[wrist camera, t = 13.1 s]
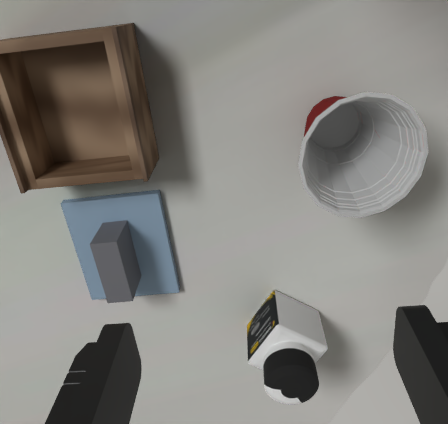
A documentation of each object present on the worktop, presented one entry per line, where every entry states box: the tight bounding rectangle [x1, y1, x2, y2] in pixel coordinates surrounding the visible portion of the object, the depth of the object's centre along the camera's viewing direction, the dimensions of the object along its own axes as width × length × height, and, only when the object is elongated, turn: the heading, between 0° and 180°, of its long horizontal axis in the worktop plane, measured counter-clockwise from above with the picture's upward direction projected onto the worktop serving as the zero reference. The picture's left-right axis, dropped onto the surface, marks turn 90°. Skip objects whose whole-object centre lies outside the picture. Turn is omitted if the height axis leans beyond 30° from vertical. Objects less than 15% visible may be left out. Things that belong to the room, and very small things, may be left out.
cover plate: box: [61, 190, 180, 303], centre depth 51 cm, size 14×12×6 cm
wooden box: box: [0, 23, 159, 193], centre depth 43 cm, size 14×13×7 cm
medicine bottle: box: [247, 290, 328, 405], centre depth 52 cm, size 7×7×12 cm
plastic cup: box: [298, 92, 429, 218], centre depth 41 cm, size 11×11×12 cm
